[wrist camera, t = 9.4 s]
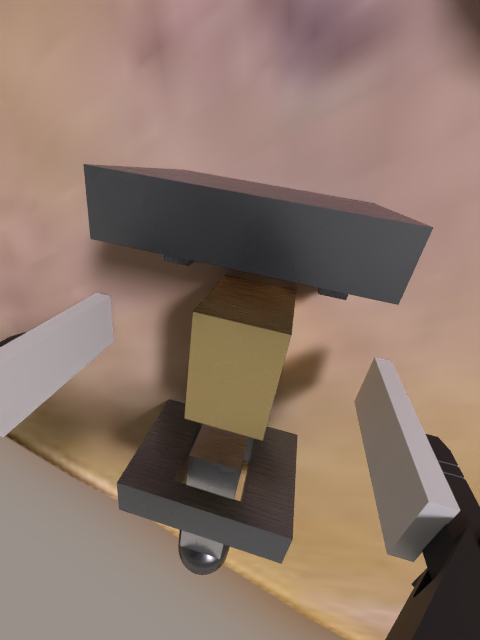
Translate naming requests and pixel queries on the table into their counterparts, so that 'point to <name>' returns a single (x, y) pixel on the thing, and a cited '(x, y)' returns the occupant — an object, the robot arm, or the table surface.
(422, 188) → the table surface
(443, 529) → the robot arm
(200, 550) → the shaft
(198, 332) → the block
